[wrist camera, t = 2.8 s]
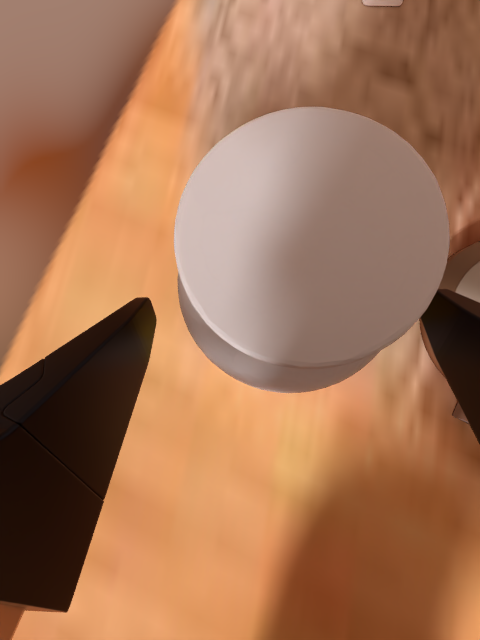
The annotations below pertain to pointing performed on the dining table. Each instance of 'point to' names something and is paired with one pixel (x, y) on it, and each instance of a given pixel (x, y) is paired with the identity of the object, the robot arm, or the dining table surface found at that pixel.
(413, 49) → the dining table surface
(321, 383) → the supplement bottle
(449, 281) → the post base
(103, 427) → the robot arm
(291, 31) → the dining table surface
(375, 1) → the perfume bottle
